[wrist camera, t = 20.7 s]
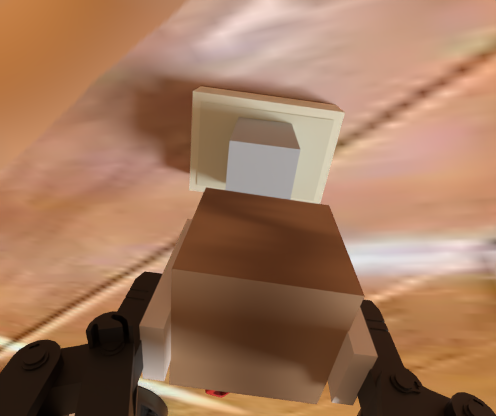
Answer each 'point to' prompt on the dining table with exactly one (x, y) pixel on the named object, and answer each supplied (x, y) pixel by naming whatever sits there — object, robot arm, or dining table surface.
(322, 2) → the dining table surface
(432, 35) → the dining table surface
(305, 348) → the block
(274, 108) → the plinth
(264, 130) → the block
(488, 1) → the dining table surface
